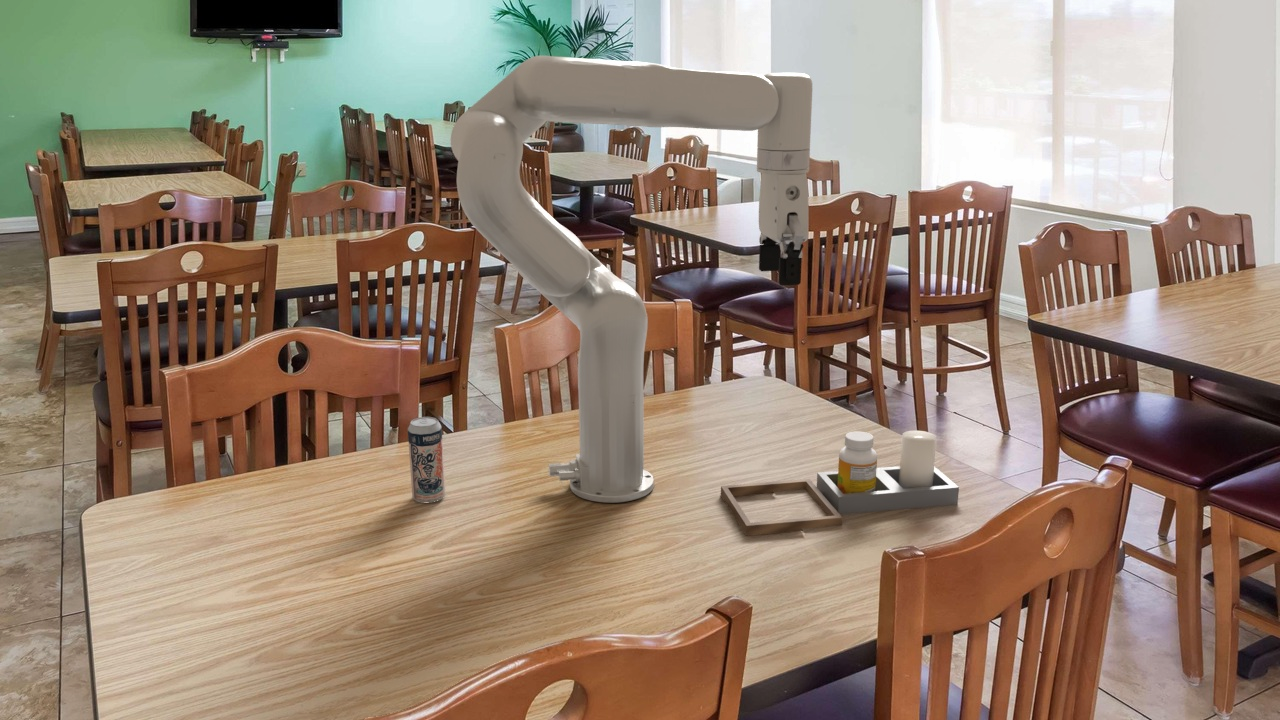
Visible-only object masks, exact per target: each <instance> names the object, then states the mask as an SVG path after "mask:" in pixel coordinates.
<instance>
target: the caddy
mask: <svg viewBox="0 0 1280 720" xmlns="http://www.w3.org/2000/svg"><path fill="white" fill-rule="evenodd" d="M899 473H900V465H899V466H896V465H895V466H884V467H877V470H876V485H875V491H872V492H860V493H848V494H843V493H842V492H841V491H840V490H839V488H838V487H837V484H838V470H836V471H835V470H834V471H832V470H831V471H822V472H817V474H816V475H817V476H816V487H817V488H818V490H819V491H820V492H821V493H822V494H823V495H824V497H825V498H826V499H827V500H828V501H829V502H830V504H831V505H832V506H833V507H834V508H835V509H836V511H837V512H838V513H839V514H840V515H847V514H848V515H849V514H860V513H861V514H862V513H873V512H874V513H875V512H883V511H884V512H885V511H886V512H887V511H894V510H895V511H896V510H907V509H908V510H909V509H918V508H920V509H921V508H930V507H931V508H933V507H941V506H942V507H943V506H954V505H956V506H957V505H959V504H958V502H959V491H960V489H959V488H960V486H958V485H957V484H956V483H955V482H953V481H952V480H951V479H950V478H949V477H948V476H947V475H945V474H944V473H943V472H942V471H941V470H939V468H937V467H936V466H935V465H934V474H933V486H932V487H920V488H908V489H903V488H902V487H901V486H900V485H899Z"/></svg>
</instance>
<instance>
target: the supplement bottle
mask: <svg viewBox="0 0 1280 720" xmlns="http://www.w3.org/2000/svg"><path fill="white" fill-rule="evenodd" d="M873 446H874V435H872V434H871V433H869V432H866V431H859V430H856V431H850V432H847V433H846V434H845V437H844V447H842V448H841V449H840V451H839V453H838V465H837V466H838V467H837V468H838V469H837V471H838V484H837V487H838V488H839V490H840V491H841V492H842V493H843V494H848V493H860V492H872V491H875V485H876V470H877V468H878V467H877V465H878V453H877V452H876V450H875V449H874V448H873Z"/></svg>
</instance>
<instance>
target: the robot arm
mask: <svg viewBox="0 0 1280 720" xmlns="http://www.w3.org/2000/svg"><path fill="white" fill-rule="evenodd" d="M812 106H813V81H812V78H811V77H810V76H809V75H808V74H806V73H803V72H771V73H766V74H757V73H754V72H753V73H752V72H751V73H750V72H745V71H744V72H742V71H713V70H712V71H711V70H710V71H709V70H698V69H697V70H696V69H689V68H688V69H687V68H679V67H674V66H673V67H672V66H667V65H664V64H660V63H653V62H646V61H645V62H643V61H631V60H630V61H629V60H617V59H616V60H614V59H613V60H612V59H601V58H600V59H599V58H586V57H585V58H581V57H570V56H555V55H554V56H553V55H535V56H532V57H530V58H528V59H525V60H524V61H523V62H521V63H520V64H519V65H518V66H517V67H515V68H514V69H513V70H512V71H511V72H510V73H509V74H508V75H507V76H505V77H504V78H503V79H502V80H501V81H499V82H498V83H497V84H496V85H494V86H493V88H491V90H489V91H488V92H487V93H485V95H483V96H482V97H481V98H480V99H479V100H477V101H476V102H475V103H474V104H472V105H471V107H469V108H468V109H467V110H466V111H465V112H464V113H462V115H460V117H459V118H458V119H456V121H455V123H454V125H453V127H452V129H451V133H450V147H451V151H452V154H453V155H454V157H455V159H456V160H457V161H458V162H457V170H456V188H457V196H458V200H459V202H460V206H461V208H462V210H463V213H464V214H465V215H466V219H468V221H469V222H470V224H471V225H472V226H473V227H474V228H475V230H476V231H477V232H478V233H479V234H480V235H482V237H483V238H484V239H486V240H487V242H489V243H490V244H491V246H493V247H494V248H495V249H496V251H498V253H500V254H501V255H502V256H503V257H504V258H505V259H506V260H507V261H508V262H509V263H510V264H512V266H514V268H515V270H516V271H517V272H518V274H519V275H520V276H521V277H522V279H524V280H525V282H527V283H528V285H530V286H531V287H533V289H535V290H537V291H538V292H539V293H540V294H541V295H542V296H543V297H544V298H545V299H547V300H548V302H550V303H551V304H552V305H553V306H555V308H556V309H558V310H559V311H560V312H561V313H562V314H563V315H564V316H565V317H566V318H568V320H570V322H571V323H573V324H574V325H575V327H576V328H577V329H578V330H579V334H580V335H579V337H580V338H579V339H580V341H579V351H578V361H577V390H578V423H579V424H578V425H579V429H578V431H579V433H578V434H579V453H576V454H575V459H571V460H569V462H564V463H563V462H562V463H561V462H554V463H548V474H549V475H548V476H549V477H558V480H559V481H560V482H562V481H569V489H570V491H571V492H572V493H573V494H575V495H576V496H577V497H579V498H581V499H584V500H587V501H591V502H596V503H605V504H606V503H607V504H608V503H611V504H615V503H625V502H630V501H635V500H638V499H641V498H643V497H645V496H647V495H648V494H649V493H651V492H653V490H654V487H655V478H654V475H653V474H652V473H650V472H649V471H648V470H646V469H645V467H644V465H645V464H644V461H645V458H644V455H645V454H644V452H645V451H644V450H645V449H644V445H645V444H644V443H645V441H644V440H645V439H644V438H645V437H644V433H645V432H644V426H645V425H644V424H645V423H644V422H645V421H644V415H645V414H644V407H645V404H644V402H645V401H644V400H645V399H644V398H645V397H644V360H645V348H646V341H647V333H648V325H649V324H648V323H649V322H648V313H647V309H646V306H645V303H644V301H643V299H642V297H641V296H640V294H639V293H638V292H637V291H636V290H635V289H634V288H633V286H630V284H628V283H627V282H626V281H624V280H622V279H621V278H620V277H618V276H616V275H615V274H614V273H613V272H612V271H611V270H609V268H607V267H606V266H605V265H604V264H603V263H602V262H601V261H600V260H599V259H598V258H597V257H595V256H594V255H593V254H592V252H591V251H589V250H588V248H586V247H585V244H584V243H582V241H581V239H580V238H579V237H577V236H576V234H574V233H573V232H572V231H571V230H569V229H568V228H567V227H565V226H564V225H562V224H561V223H559V222H558V221H557V220H556V219H555V218H554V217H553V216H552V215H551V214H550V213H548V211H546V209H544V207H542V206H541V204H540V203H539V202H538V201H537V200H536V199H535V198H534V197H533V196H532V195H531V194H530V193H529V192H528V191H527V190H526V188H525V186H523V183H522V180H521V175H520V174H521V173H520V168H521V164H522V159H523V153H524V143H525V141H526V140H528V139H529V138H530V137H532V136H533V134H534V133H536V132H537V131H538V130H539V129H540V128H541V127H542V126H543V125H545V123H547V122H553V123H563V124H564V123H567V124H595V125H611V126H612V125H613V126H626V127H627V126H628V127H644V128H685V129H686V128H688V129H704V130H719V131H720V130H723V131H724V130H725V131H743V132H745V131H746V132H750V131H751V132H752V131H757V149H756V150H757V152H756V153H757V154H756V172H757V173H760V175H761V176H760V188H759V200H758V229H759V232H760V236H759V248H758V249H759V255H758V269H759V271H760V272H778V280H777V281H778V285H780V286H798V285H800V284H802V283H801V280H802V260H803V248H804V243H805V242H806V241H808V239H809V187H808V179H807V178H808V177H807V174H808V173H809V172H810V157H811V156H810V155H811V152H810V151H811V129H812V128H811V127H812V108H813V107H812Z"/></svg>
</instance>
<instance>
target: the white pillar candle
mask: <svg viewBox="0 0 1280 720" xmlns="http://www.w3.org/2000/svg"><path fill="white" fill-rule="evenodd" d="M901 435H902V436H901V447H900V462H899V463H900V464H899V466H900V473H899V485H900V486H901V487H902V488H903V489H908V488H920V487H932V486H933V474H934V466H935V460H936V447H937V439H938V438H937V436H936V434H934V433H932V432H929V431H925V430H907V431H905V432H903V433H902V434H901Z"/></svg>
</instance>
